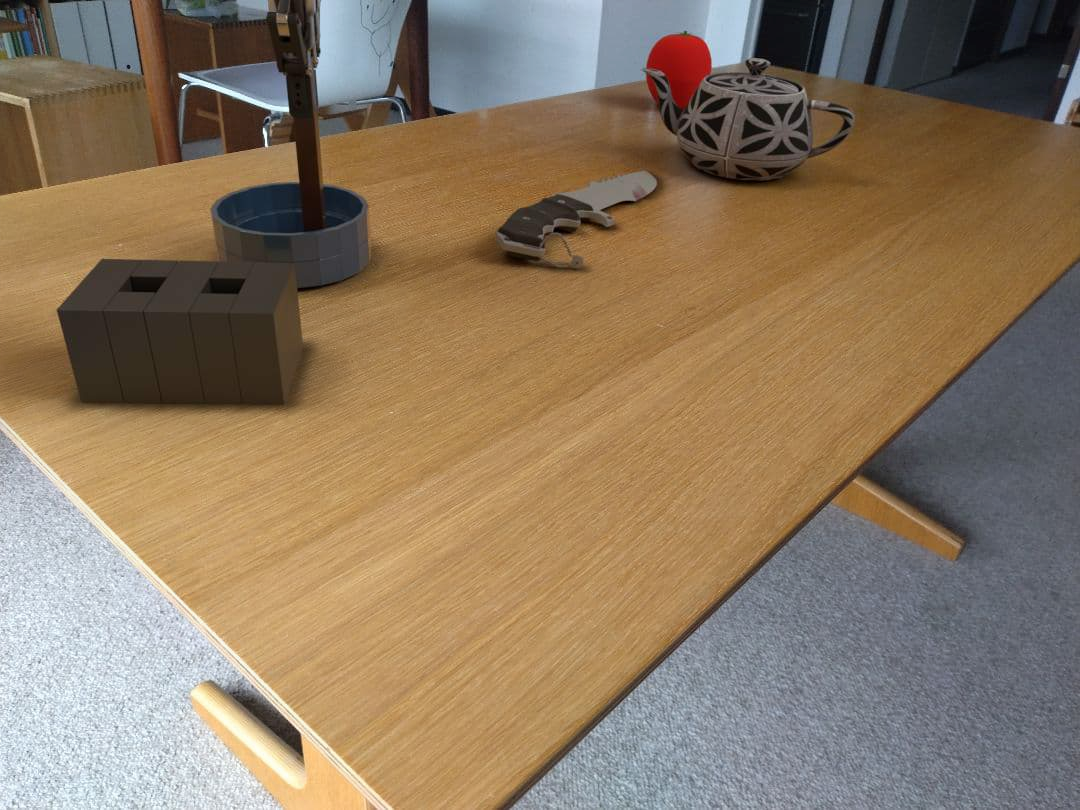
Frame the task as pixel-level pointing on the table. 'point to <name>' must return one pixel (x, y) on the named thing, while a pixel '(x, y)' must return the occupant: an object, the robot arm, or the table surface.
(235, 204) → the bowl
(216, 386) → the holder
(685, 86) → the tomato
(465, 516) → the table surface
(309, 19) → the robot arm
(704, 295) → the table surface
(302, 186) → the stick
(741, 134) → the teapot
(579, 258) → the knife
